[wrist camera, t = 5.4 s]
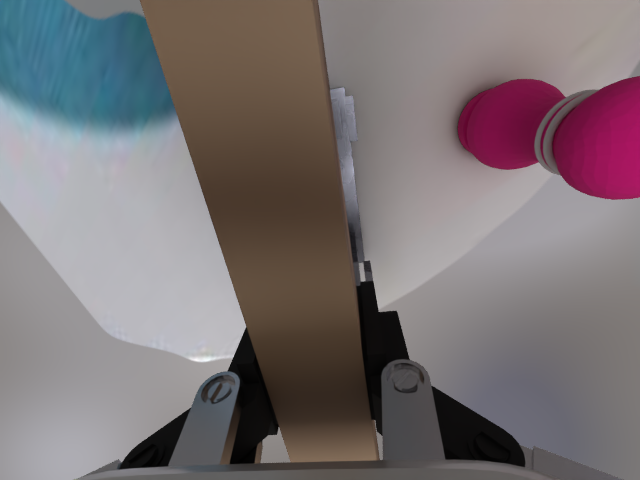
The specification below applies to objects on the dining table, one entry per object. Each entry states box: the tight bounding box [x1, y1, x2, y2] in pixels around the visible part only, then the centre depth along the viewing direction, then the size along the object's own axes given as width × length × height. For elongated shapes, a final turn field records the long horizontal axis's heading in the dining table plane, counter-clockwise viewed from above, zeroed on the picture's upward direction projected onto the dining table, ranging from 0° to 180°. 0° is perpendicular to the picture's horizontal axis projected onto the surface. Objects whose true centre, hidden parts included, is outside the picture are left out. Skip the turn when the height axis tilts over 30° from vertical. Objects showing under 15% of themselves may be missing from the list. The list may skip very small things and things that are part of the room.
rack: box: [330, 87, 373, 286], centre depth 29 cm, size 19×5×10 cm, turn 9°
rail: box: [140, 0, 380, 462], centre depth 11 cm, size 23×3×3 cm, turn 9°
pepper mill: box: [458, 76, 640, 200], centre depth 21 cm, size 7×7×20 cm
